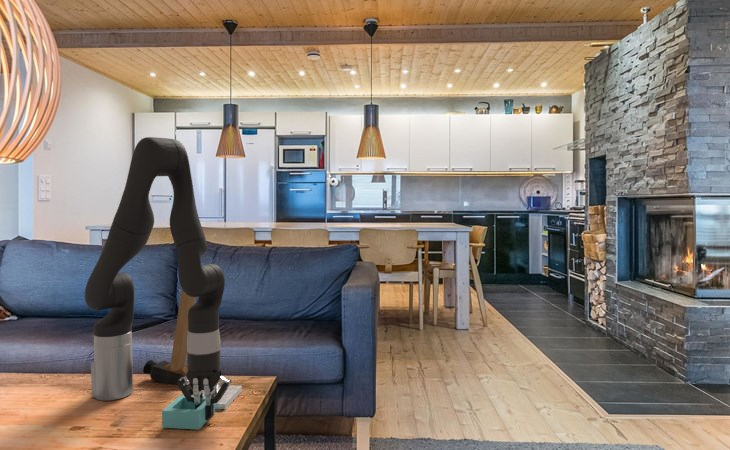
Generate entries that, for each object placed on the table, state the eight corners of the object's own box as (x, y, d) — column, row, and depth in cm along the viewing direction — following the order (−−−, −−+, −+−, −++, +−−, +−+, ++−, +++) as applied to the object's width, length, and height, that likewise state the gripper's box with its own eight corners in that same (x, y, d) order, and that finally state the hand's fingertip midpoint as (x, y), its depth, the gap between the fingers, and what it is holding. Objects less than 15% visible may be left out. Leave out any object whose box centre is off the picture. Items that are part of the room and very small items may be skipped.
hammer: (211, 389, 142) (227, 290, 139) (201, 395, 137) (217, 294, 134) (153, 370, 146) (167, 275, 143) (141, 376, 142) (155, 277, 139)
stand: (180, 407, 124) (179, 375, 124) (200, 389, 136) (200, 359, 136) (225, 409, 123) (224, 377, 123) (241, 391, 135) (241, 361, 134)
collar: (162, 427, 113) (161, 410, 112) (180, 410, 122) (180, 395, 121) (199, 429, 112) (198, 412, 112) (215, 412, 121) (214, 396, 120)
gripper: (168, 351, 112) (169, 424, 113) (225, 354, 111) (225, 427, 112) (184, 342, 120) (185, 410, 121) (237, 344, 118) (237, 413, 119)
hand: (204, 418), depth 116 cm, fingers closed on collar, 1 cm apart
